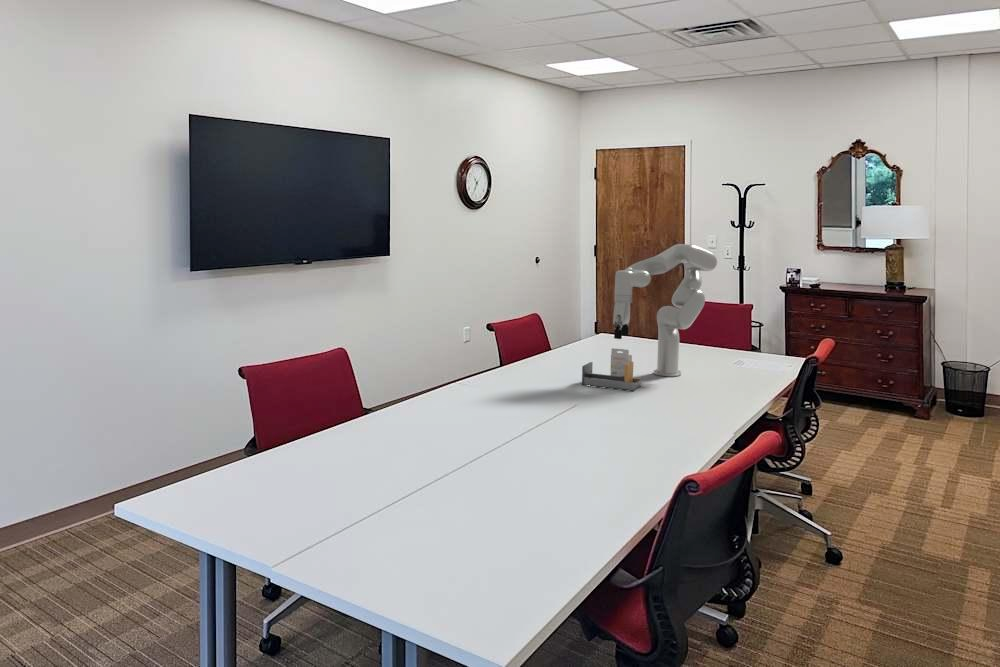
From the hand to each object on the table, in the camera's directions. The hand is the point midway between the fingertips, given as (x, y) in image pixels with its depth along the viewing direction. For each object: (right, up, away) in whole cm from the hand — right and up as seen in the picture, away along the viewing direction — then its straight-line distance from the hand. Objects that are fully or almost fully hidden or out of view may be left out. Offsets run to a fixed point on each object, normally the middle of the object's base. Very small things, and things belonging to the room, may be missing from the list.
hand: (621, 337), depth 329 cm
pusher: (+1, -21, -10) cm, 23 cm away
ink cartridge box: (0, -20, +4) cm, 20 cm away
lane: (-6, -21, -7) cm, 23 cm away
